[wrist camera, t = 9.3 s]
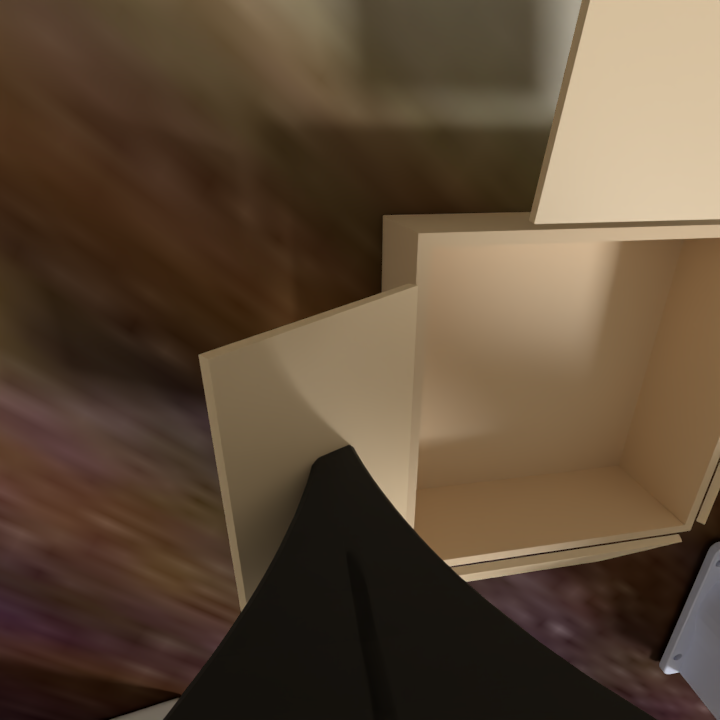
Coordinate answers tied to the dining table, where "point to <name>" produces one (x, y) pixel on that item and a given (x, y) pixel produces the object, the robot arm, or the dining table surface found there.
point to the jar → (150, 712)
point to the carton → (557, 379)
